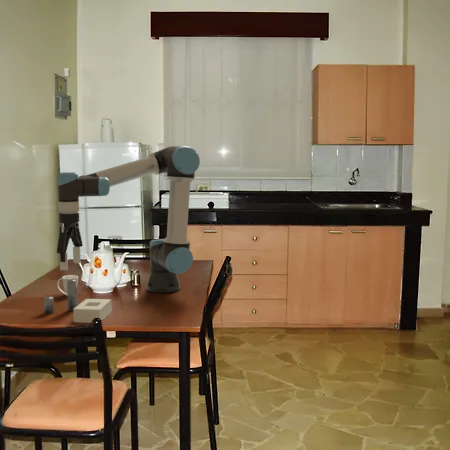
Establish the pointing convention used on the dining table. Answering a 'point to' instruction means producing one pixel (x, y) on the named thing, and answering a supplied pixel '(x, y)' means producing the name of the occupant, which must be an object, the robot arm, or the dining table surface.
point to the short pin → (48, 305)
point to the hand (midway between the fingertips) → (70, 266)
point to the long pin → (72, 294)
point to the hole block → (92, 310)
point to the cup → (64, 279)
